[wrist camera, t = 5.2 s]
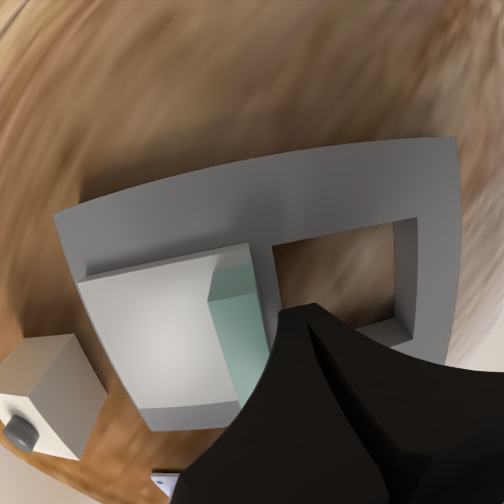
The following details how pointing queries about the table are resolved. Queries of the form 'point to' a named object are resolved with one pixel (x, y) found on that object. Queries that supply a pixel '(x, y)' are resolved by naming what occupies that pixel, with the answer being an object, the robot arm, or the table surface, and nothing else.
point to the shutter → (182, 327)
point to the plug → (49, 396)
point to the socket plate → (291, 234)
